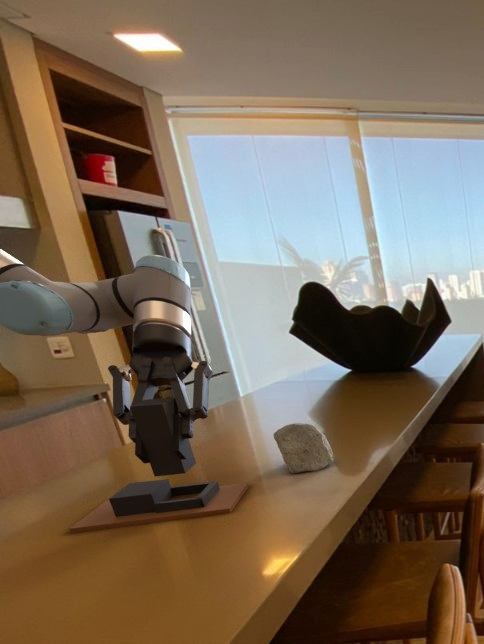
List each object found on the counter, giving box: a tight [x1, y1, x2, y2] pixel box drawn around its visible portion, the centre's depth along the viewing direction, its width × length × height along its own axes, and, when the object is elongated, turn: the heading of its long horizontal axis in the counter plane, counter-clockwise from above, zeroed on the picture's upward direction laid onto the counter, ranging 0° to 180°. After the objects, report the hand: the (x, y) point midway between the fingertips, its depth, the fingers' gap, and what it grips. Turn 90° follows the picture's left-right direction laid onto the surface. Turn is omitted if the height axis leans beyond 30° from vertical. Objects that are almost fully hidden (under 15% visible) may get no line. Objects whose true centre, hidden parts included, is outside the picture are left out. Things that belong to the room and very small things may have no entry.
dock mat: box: [68, 478, 250, 534], centre depth 92 cm, size 20×14×4 cm
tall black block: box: [130, 397, 197, 477], centre depth 89 cm, size 4×6×11 cm, turn 23°
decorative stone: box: [272, 422, 334, 474], centre depth 112 cm, size 13×11×10 cm
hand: (161, 456), depth 87 cm, fingers closed on tall black block, 4 cm apart
